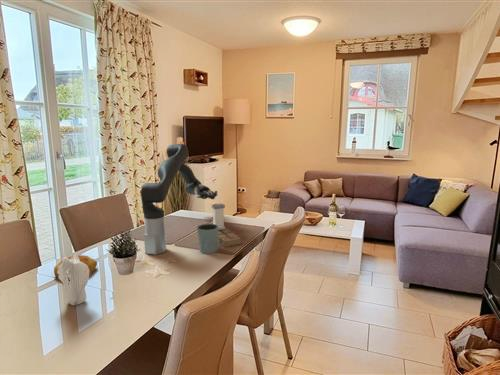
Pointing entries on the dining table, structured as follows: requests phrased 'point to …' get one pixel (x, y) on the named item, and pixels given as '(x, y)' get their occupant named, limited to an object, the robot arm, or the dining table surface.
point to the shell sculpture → (74, 279)
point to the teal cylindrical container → (208, 238)
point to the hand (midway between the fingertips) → (213, 197)
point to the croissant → (85, 259)
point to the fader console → (228, 238)
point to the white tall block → (218, 215)
